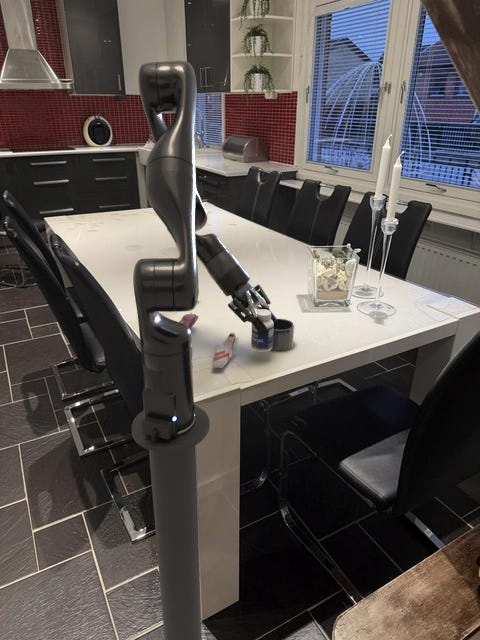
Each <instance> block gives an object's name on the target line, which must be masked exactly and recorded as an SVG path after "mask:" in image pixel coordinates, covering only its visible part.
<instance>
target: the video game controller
mask: <svg viewBox="0 0 480 640" xmlns="http://www.w3.org/2000/svg"><path fill="white" fill-rule="evenodd" d="M198 320H199V315H197V314H195V313H193V312H191V311H190V313H188V314H184V315H183V316H182V317H181V318H180V320H179V321H178V322H180V323H182V324H184V325H186V326H187V327H188V328H189V329H190V331H192V328H193V327H194V325H195V324H196V323H197V321H198Z"/></svg>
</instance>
